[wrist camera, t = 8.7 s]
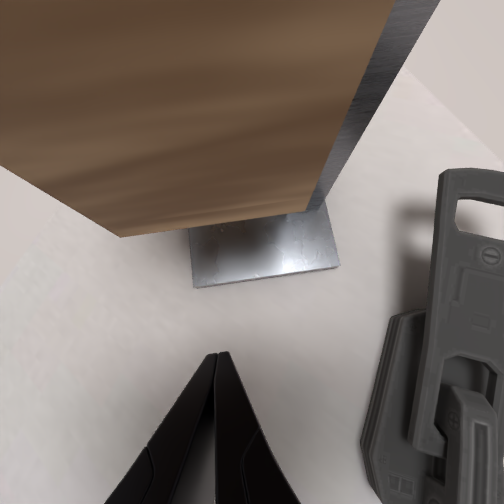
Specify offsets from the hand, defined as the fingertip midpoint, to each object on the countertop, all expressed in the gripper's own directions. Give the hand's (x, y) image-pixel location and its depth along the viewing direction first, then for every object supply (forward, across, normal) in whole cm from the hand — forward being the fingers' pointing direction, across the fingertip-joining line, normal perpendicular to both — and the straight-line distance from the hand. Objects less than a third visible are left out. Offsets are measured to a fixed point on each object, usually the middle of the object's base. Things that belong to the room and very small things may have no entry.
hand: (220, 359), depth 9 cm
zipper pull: (+7, +16, -11) cm, 20 cm away
